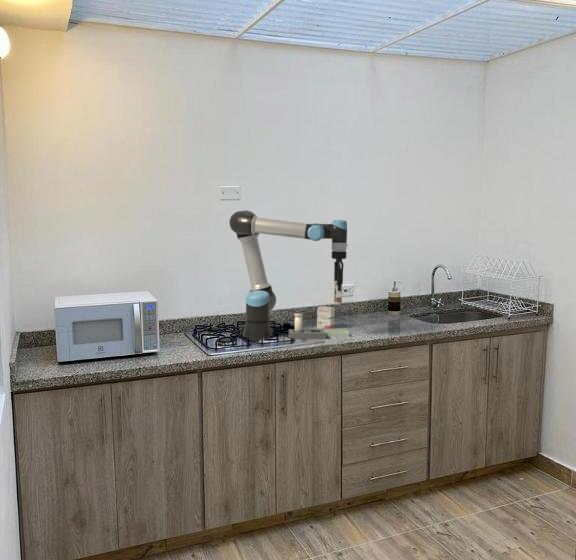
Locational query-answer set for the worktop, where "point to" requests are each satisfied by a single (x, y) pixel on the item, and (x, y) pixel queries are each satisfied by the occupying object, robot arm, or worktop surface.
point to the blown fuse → (337, 299)
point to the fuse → (298, 322)
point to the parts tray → (337, 333)
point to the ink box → (325, 317)
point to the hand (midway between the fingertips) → (338, 296)
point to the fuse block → (307, 334)
